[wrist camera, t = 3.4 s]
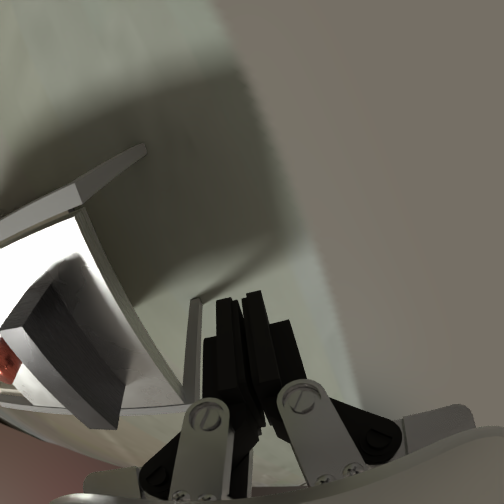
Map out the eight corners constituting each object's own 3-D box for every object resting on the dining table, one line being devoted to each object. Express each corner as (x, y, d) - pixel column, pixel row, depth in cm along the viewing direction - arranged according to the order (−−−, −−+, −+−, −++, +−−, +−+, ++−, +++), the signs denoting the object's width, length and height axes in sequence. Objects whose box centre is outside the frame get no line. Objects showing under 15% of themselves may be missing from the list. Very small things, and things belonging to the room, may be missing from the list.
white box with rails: (-35, 233, 17) (-94, 288, 9) (144, 142, 17) (74, 182, 8) (26, 337, 24) (-8, 404, 15) (202, 305, 24) (199, 410, 15)
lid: (-53, 274, 10) (-84, 309, 6) (84, 206, 10) (35, 256, 6) (37, 395, 15) (23, 433, 12) (185, 389, 15) (182, 446, 12)
